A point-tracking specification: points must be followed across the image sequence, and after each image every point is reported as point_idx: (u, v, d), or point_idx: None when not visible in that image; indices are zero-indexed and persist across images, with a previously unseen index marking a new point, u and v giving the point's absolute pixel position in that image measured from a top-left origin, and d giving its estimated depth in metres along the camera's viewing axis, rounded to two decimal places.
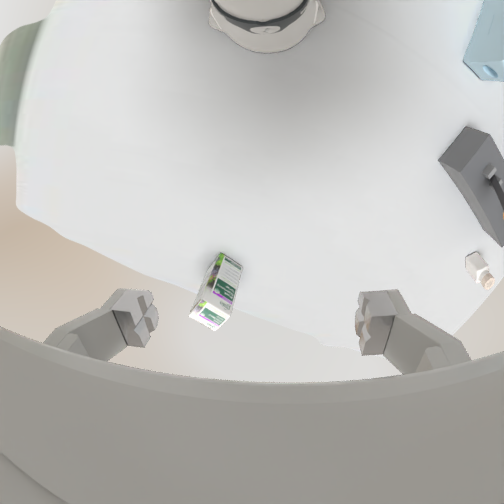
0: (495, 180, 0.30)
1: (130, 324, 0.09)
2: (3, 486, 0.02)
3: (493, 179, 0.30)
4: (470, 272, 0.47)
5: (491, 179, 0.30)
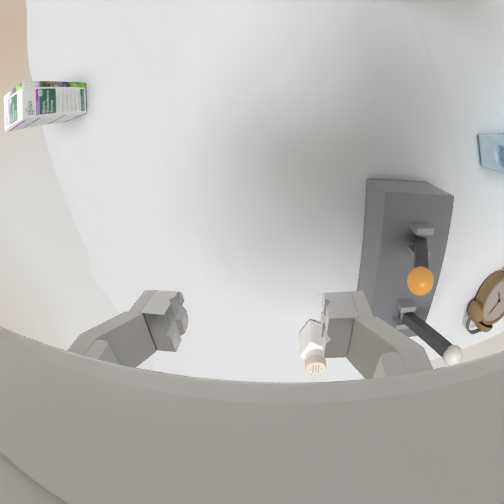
0: (423, 241, 0.26)
1: (162, 328, 0.09)
2: (3, 486, 0.02)
3: (421, 240, 0.27)
4: (301, 339, 0.44)
5: (418, 238, 0.27)
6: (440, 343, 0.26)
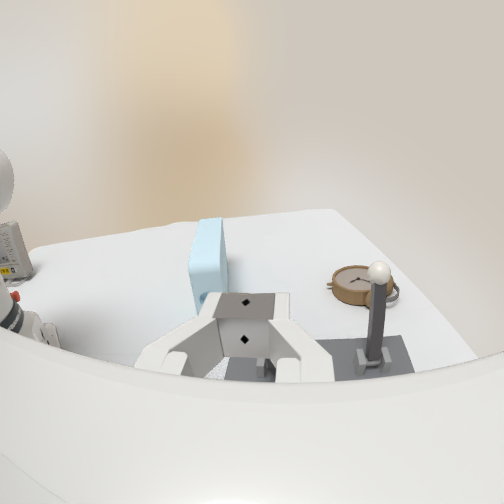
0: None
1: (236, 333, 0.09)
2: (3, 486, 0.02)
3: None
4: None
5: None
6: (373, 295, 0.26)
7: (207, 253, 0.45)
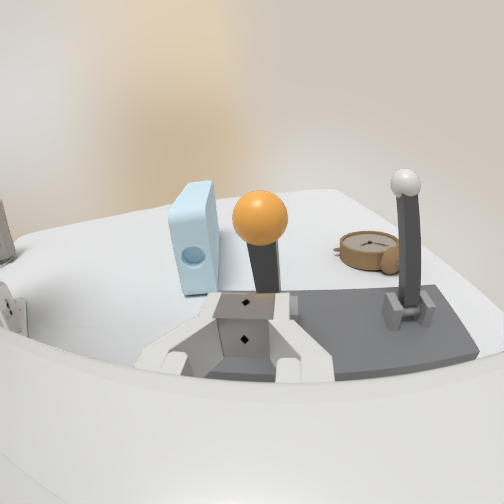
0: None
1: (236, 333, 0.09)
2: (3, 486, 0.02)
3: None
4: None
5: None
6: (403, 210, 0.19)
7: (192, 203, 0.37)
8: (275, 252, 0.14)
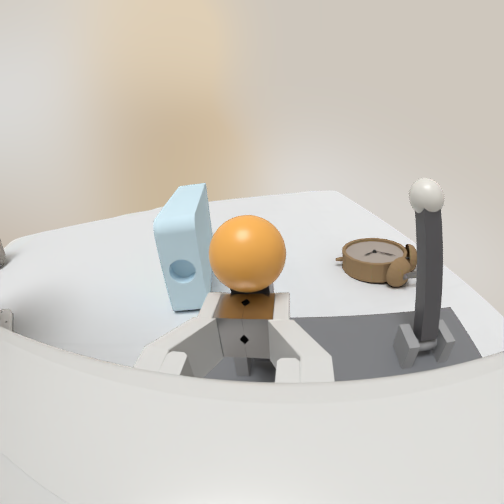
0: None
1: (236, 333, 0.09)
2: (3, 486, 0.02)
3: None
4: None
5: None
6: (424, 229, 0.15)
7: (180, 211, 0.34)
8: None
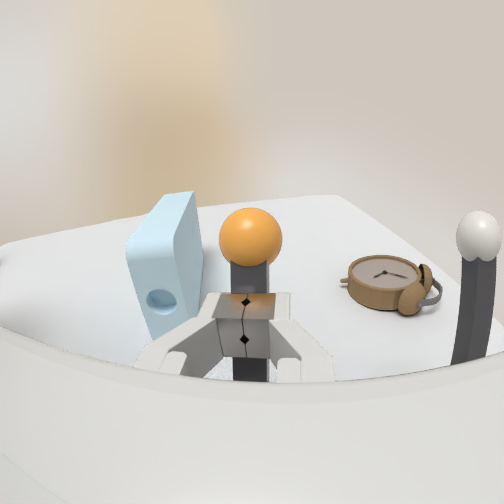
0: None
1: (236, 332, 0.09)
2: (3, 486, 0.02)
3: None
4: None
5: None
6: (475, 286, 0.09)
7: (158, 230, 0.28)
8: (265, 282, 0.11)
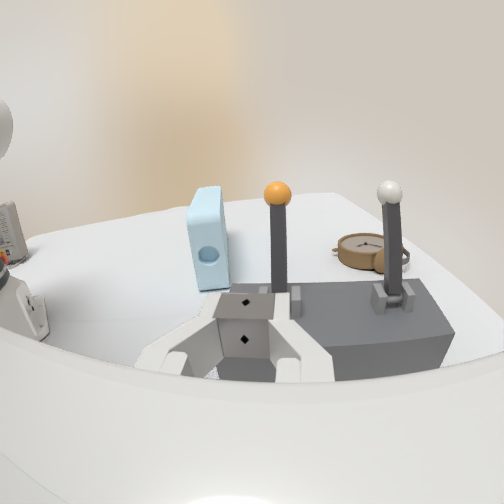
0: None
1: (236, 332, 0.09)
2: (3, 486, 0.02)
3: None
4: None
5: None
6: (386, 215, 0.23)
7: (207, 207, 0.42)
8: (284, 211, 0.25)
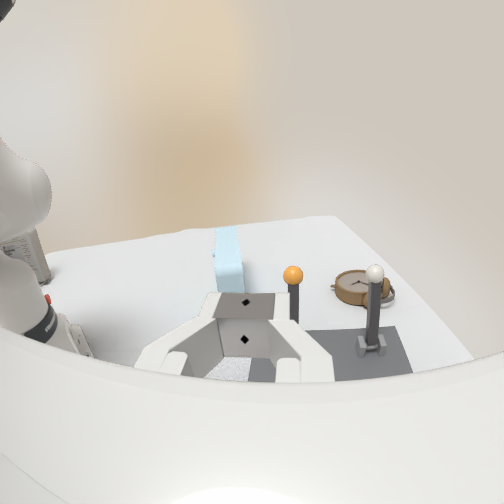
0: None
1: (236, 333, 0.09)
2: (3, 486, 0.02)
3: None
4: None
5: None
6: (370, 291, 0.33)
7: (230, 259, 0.52)
8: (298, 289, 0.35)
